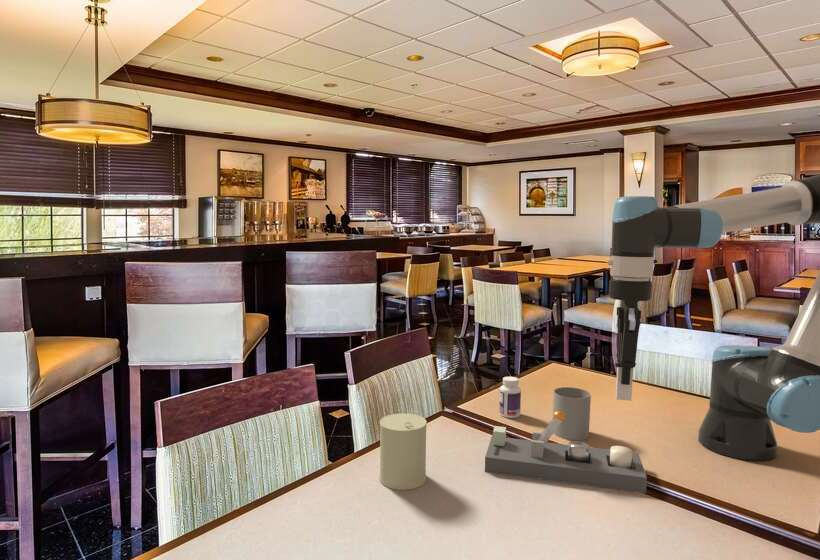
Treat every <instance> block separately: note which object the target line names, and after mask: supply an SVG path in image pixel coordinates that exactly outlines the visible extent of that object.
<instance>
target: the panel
mask: <svg viewBox="0 0 820 560" xmlns="http://www.w3.org/2000/svg"><path fill="white" fill-rule="evenodd" d="M542 433H543V431H542V432H540V431H532V433H531V434H532V435H531V436H532V437H531V440H530V439H529V440H528V439H520V438H511V437H506V441H505V445H504V446H498V445H493V435H492V436H491V438H490V440H489V442H488V443H489V444H488V448H487V450H486V454H485V455H484V456H485V457H484V472H486V473H492V474H495V473H496V474H501V475H509V476H510V475H511V476H517V477H523V478H524V477H525V478H532V479H538V480H539V479H540V480H546V481H551V482H553V481H554V482H560V483H568V484H574V485H575V484H576V485H584V486H591V487H598V488H605V489H613V490H621V491H627V492H633V493H634V492H635V493H641V494H642V493H643V494H646V493H647V486H648V485H647V482H648V481H647V480H648V477H647V473H646V471H645V468H644V465H643V462H642V459H641V457H640V454H639V452H633V451H632V465H631V469H628V468H620V467H612V466H610V449H607V448H598V447H590V446H589V461H588V463H580V462H572V461H568V444H564V443H556V442H547V443H546V444H545V446H544V441H537V440H538V438H539V437H540V435H541V434H542Z"/></svg>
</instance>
